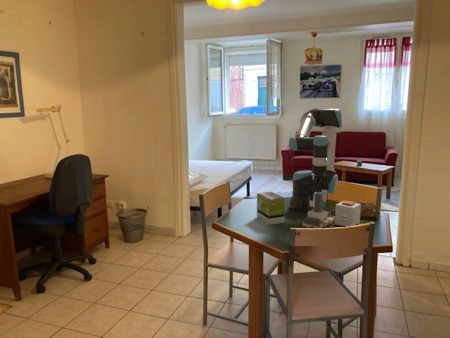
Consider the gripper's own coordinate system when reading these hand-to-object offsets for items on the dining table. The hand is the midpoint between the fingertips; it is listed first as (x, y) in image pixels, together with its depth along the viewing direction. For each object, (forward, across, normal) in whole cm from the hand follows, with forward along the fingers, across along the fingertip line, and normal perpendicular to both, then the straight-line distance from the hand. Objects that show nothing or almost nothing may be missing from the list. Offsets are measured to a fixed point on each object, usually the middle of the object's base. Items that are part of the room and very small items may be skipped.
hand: (318, 203), depth 209 cm
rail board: (+12, +5, 0) cm, 13 cm away
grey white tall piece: (+9, 0, 0) cm, 9 cm away
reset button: (+2, +12, -12) cm, 17 cm away
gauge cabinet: (+12, +12, -12) cm, 21 cm away
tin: (+12, +32, -13) cm, 37 cm away
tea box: (+12, -10, +24) cm, 29 cm away
